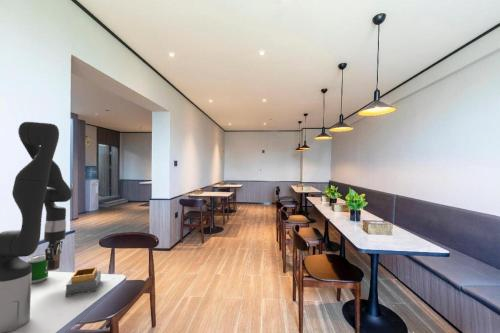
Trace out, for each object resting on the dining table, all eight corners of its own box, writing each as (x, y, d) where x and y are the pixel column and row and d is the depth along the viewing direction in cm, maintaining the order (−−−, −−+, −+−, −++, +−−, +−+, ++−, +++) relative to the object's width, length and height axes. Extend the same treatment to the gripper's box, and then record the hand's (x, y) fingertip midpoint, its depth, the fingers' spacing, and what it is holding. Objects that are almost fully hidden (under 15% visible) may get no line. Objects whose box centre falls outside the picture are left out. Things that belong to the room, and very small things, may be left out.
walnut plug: (57, 269, 102) (58, 252, 102) (45, 271, 100) (46, 253, 100) (60, 266, 106) (61, 249, 106) (48, 267, 104) (49, 250, 104)
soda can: (42, 283, 108) (43, 258, 108) (23, 285, 106) (24, 259, 106) (51, 276, 115) (52, 253, 116) (33, 278, 113) (34, 254, 113)
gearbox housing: (95, 291, 101) (96, 274, 101) (65, 296, 97) (66, 279, 97) (100, 280, 111) (101, 265, 111) (73, 285, 107) (74, 269, 107)
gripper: (60, 232, 99) (57, 271, 98) (70, 225, 112) (68, 260, 111) (38, 233, 96) (35, 274, 95) (51, 227, 109) (48, 262, 108)
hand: (53, 266), depth 103 cm, fingers closed on walnut plug, 4 cm apart
